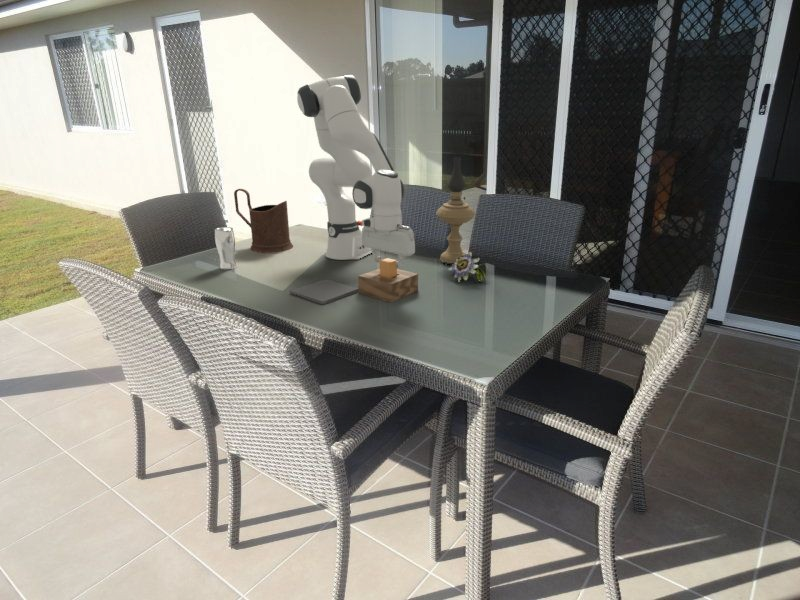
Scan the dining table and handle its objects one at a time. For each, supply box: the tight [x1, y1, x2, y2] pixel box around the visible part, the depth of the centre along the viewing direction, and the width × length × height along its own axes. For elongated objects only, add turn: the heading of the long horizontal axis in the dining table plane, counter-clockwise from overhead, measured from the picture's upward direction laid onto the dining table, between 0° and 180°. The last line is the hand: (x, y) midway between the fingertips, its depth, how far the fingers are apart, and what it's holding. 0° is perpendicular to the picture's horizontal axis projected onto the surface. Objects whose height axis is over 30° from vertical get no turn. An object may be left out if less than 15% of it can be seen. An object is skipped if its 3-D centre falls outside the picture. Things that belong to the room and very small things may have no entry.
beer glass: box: [214, 226, 237, 271], centre depth 203 cm, size 7×7×15 cm
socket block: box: [357, 268, 419, 303], centre depth 177 cm, size 14×14×6 cm
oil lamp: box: [435, 156, 476, 263], centre depth 205 cm, size 15×15×40 cm
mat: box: [289, 278, 359, 306], centre depth 178 cm, size 16×16×1 cm
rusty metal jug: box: [233, 188, 294, 254], centre depth 229 cm, size 18×24×25 cm
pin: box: [379, 257, 398, 278], centre depth 176 cm, size 4×4×10 cm
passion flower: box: [447, 251, 488, 282], centre depth 189 cm, size 11×11×12 cm
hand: (388, 264), depth 175 cm, fingers open, 8 cm apart
